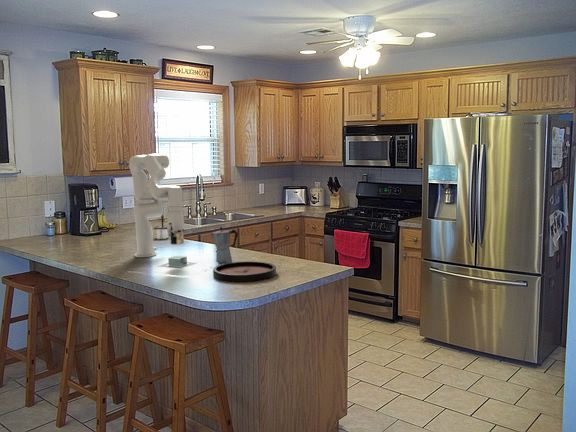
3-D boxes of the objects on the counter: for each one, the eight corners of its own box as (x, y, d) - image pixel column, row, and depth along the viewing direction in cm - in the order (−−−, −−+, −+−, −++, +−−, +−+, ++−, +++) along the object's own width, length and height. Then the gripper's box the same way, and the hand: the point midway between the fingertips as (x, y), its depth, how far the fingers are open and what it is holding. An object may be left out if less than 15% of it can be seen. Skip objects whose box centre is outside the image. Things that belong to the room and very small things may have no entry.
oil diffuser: (174, 241, 386) (173, 217, 383) (140, 242, 387) (139, 217, 385) (183, 235, 411) (182, 212, 409) (151, 235, 412) (150, 213, 410)
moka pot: (209, 262, 312) (207, 226, 310) (235, 259, 318) (234, 224, 315) (213, 265, 304) (211, 229, 301) (240, 262, 309) (239, 227, 306)
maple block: (175, 242, 304) (175, 232, 303) (183, 243, 302) (183, 232, 301) (170, 244, 300) (169, 233, 299) (178, 244, 298) (177, 233, 297)
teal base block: (176, 262, 307) (175, 255, 306) (187, 263, 304) (186, 256, 304) (168, 265, 301) (168, 258, 300) (179, 266, 298) (179, 259, 297)
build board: (173, 262, 313) (173, 260, 312) (198, 264, 306) (198, 262, 306) (157, 268, 299) (157, 266, 299) (182, 270, 292) (182, 268, 292)
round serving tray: (241, 278, 257) (200, 268, 279) (242, 286, 258) (200, 276, 279) (288, 266, 280) (246, 258, 301) (289, 274, 280) (247, 266, 302)
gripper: (178, 207, 308) (180, 240, 310) (159, 211, 292) (161, 245, 295) (190, 207, 305) (191, 240, 307) (171, 211, 289) (173, 246, 292)
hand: (177, 242), depth 301 cm, fingers closed on maple block, 5 cm apart
